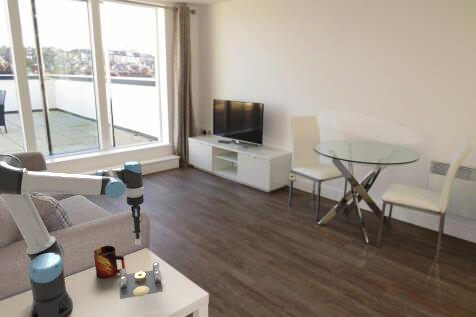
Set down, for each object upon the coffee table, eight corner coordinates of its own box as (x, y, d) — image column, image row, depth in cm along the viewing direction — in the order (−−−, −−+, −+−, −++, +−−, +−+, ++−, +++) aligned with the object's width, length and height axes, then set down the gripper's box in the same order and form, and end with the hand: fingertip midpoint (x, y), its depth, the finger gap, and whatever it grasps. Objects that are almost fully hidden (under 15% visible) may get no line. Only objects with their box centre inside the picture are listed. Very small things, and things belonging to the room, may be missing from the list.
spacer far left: (120, 280, 159) (119, 271, 157) (120, 277, 162) (119, 267, 160) (127, 279, 160) (126, 270, 158) (127, 276, 162) (126, 266, 161)
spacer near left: (120, 289, 152) (119, 280, 151) (120, 285, 155) (119, 276, 154) (127, 288, 153) (126, 278, 152) (127, 284, 156) (126, 275, 155)
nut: (136, 283, 157) (136, 278, 156) (133, 278, 161) (133, 274, 160) (147, 280, 160) (147, 275, 159) (144, 275, 163) (144, 270, 163)
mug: (125, 276, 162) (123, 253, 159) (94, 280, 159) (91, 257, 156) (127, 265, 171) (125, 243, 169) (98, 269, 169) (95, 247, 166)
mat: (120, 300, 146) (119, 299, 146) (120, 276, 163) (120, 275, 163) (162, 292, 151) (162, 291, 151) (158, 270, 168) (158, 269, 168)
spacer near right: (154, 284, 157) (154, 274, 156) (154, 280, 160) (153, 270, 158) (161, 282, 158) (160, 273, 156) (160, 279, 160) (160, 269, 159)
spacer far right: (153, 275, 163) (152, 266, 162) (152, 272, 166) (152, 262, 165) (159, 274, 164) (159, 265, 163) (159, 271, 167) (158, 261, 166)
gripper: (144, 202, 148) (147, 249, 154) (142, 187, 167) (144, 229, 173) (126, 204, 146) (129, 251, 152) (126, 188, 165) (129, 231, 171)
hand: (137, 240), depth 162 cm, fingers open, 8 cm apart
